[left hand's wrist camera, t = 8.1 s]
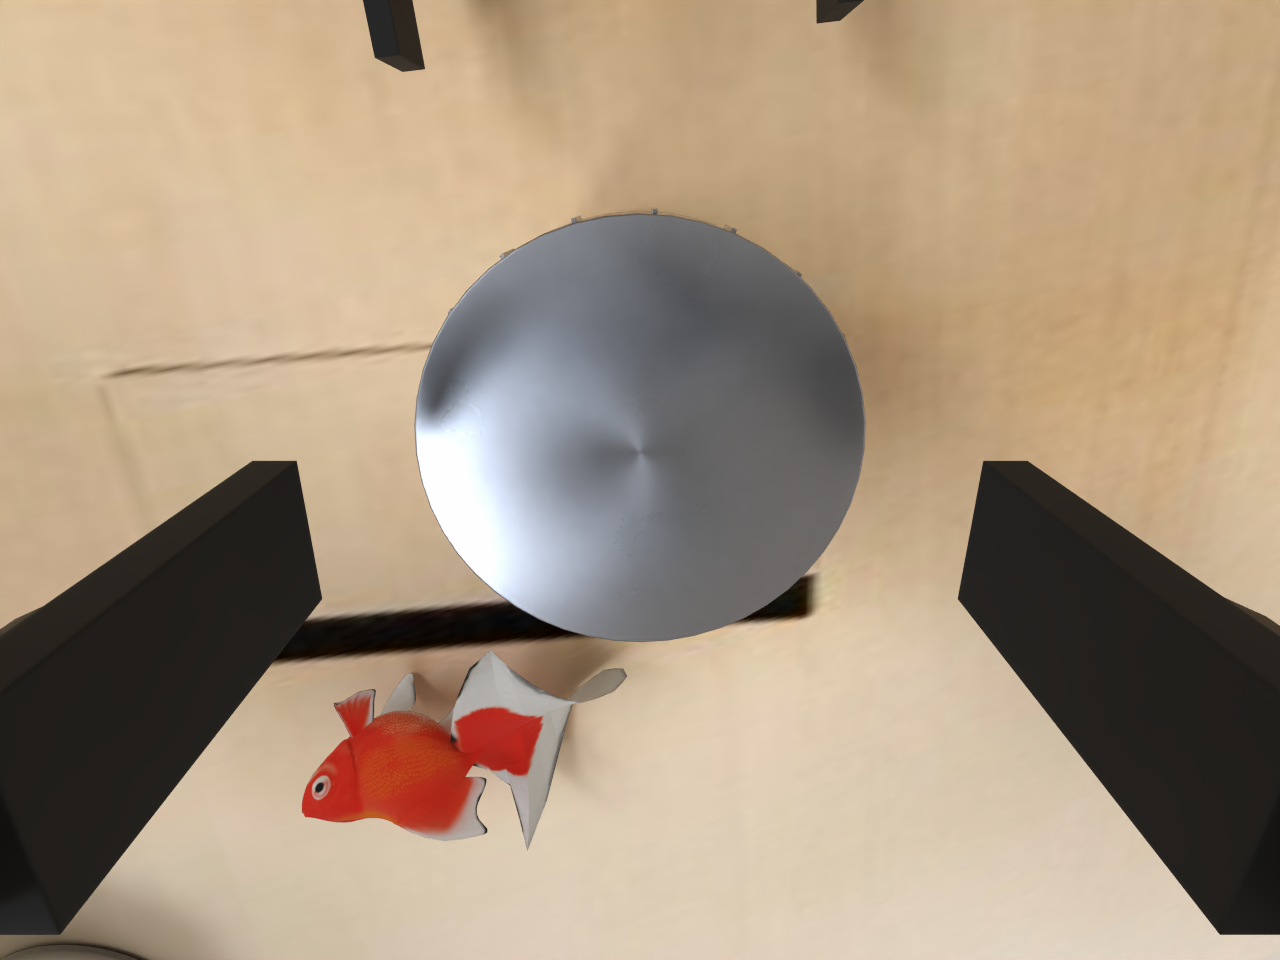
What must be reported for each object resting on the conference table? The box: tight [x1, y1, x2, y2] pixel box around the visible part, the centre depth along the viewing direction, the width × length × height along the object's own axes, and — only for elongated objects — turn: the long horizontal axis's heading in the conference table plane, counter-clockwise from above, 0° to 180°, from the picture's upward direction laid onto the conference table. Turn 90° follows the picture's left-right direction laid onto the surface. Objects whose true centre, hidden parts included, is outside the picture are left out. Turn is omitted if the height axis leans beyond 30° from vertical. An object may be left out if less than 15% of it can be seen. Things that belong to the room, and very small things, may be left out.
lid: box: [415, 208, 865, 642], centre depth 18 cm, size 10×10×2 cm
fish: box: [302, 650, 627, 851], centre depth 35 cm, size 11×16×10 cm
